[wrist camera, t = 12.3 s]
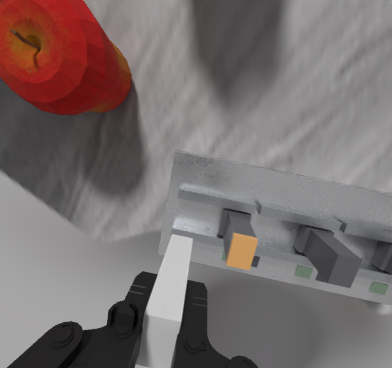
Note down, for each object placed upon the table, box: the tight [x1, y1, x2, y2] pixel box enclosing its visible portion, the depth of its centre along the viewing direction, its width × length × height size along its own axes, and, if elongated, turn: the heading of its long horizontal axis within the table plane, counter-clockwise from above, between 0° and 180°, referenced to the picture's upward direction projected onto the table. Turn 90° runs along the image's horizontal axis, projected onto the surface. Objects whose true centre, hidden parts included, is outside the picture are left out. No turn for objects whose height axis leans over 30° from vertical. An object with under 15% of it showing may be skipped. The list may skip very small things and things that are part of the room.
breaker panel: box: [158, 150, 392, 305], centre depth 24 cm, size 29×13×4 cm, turn 79°
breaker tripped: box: [218, 208, 258, 270], centre depth 21 cm, size 3×3×7 cm
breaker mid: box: [293, 224, 362, 288], centre depth 21 cm, size 3×3×6 cm
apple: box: [0, 0, 131, 115], centre depth 18 cm, size 9×8×12 cm
